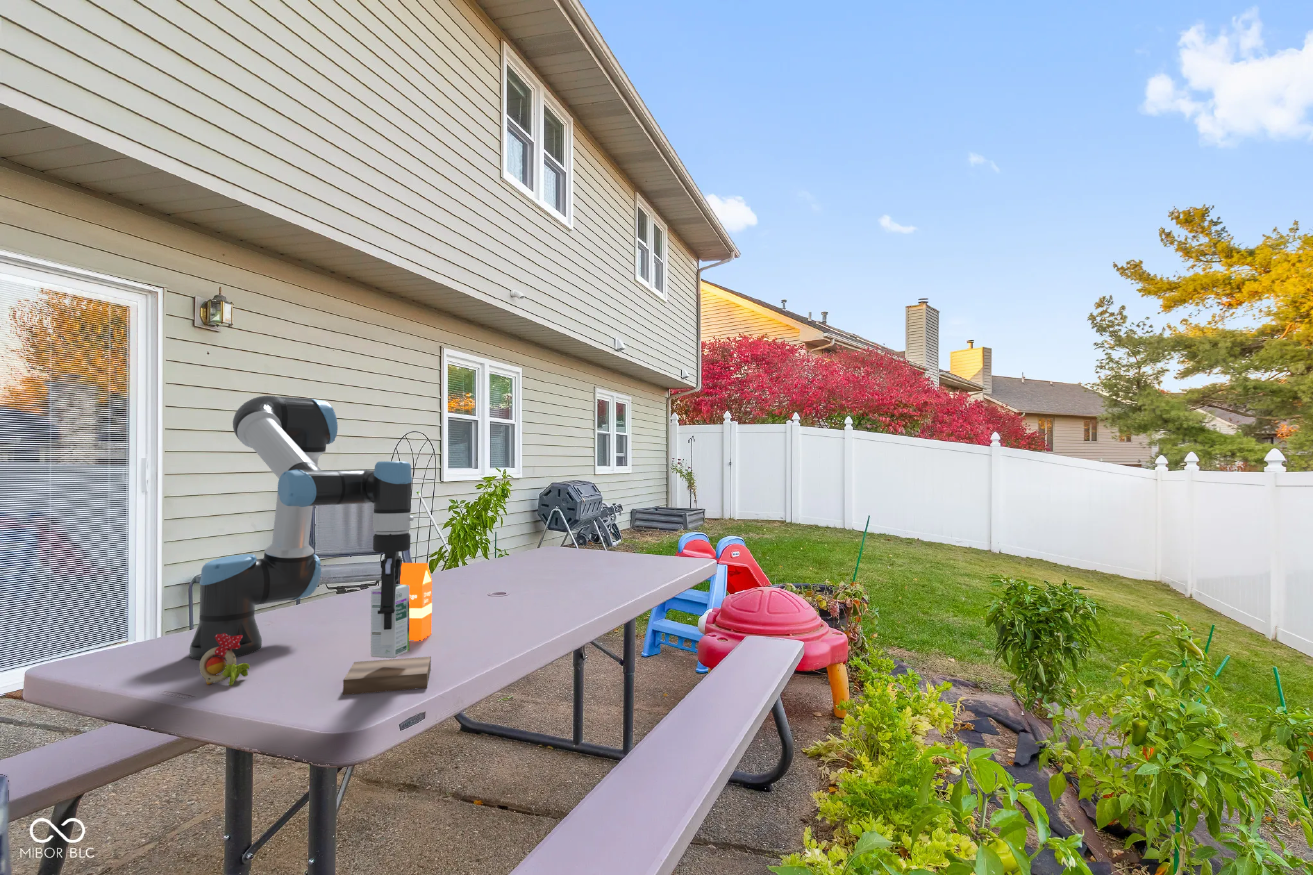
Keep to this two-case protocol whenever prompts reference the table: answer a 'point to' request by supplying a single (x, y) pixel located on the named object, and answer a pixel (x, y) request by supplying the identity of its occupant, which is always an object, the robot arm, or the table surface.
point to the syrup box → (400, 623)
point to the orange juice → (418, 598)
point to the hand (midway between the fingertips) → (390, 639)
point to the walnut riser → (387, 675)
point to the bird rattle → (222, 661)
